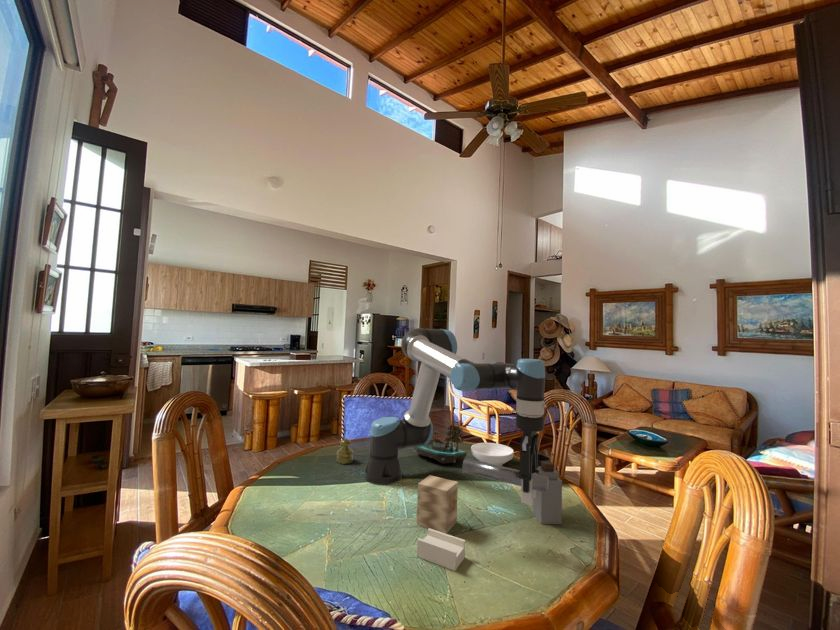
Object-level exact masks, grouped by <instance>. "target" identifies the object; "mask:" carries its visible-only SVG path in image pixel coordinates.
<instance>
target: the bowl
mask: <svg viewBox="0 0 840 630" xmlns="http://www.w3.org/2000/svg"><path fill="white" fill-rule="evenodd" d="M470 452H471V455H472V457H474V458H475V459H477V461H481V462H485V463H489V464H494V465H498V466H503V465H504V464H506V463H508V462H509V461H511V460H512V459H513V458H514V453H515V452H514V448H512V447H510V446H509V445H505V444H501V443H497V442H479V443H478V442H477V443H474V444H473V445H471V446H470Z"/></svg>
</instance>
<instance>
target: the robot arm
mask: <svg viewBox="0 0 840 630" xmlns="http://www.w3.org/2000/svg"><path fill="white" fill-rule="evenodd" d="M401 350H402V353H403V354H404V355H405V356H406V357H407V358H408V359H409V360H412V361H413V362H421V363H420V366H419V371H418V375H417V379H416V382H415V385H414V390H413V394H412V397H411V401H410V405H409V409H408V410H407V411H405V412H404V415H403V417H402V419H399V417H397V416H396V417H395V416H383V417H380V418H377V419H375V420H373V422H371V425H370V430H369V431H370V432H369V434H370V436H369V437H370V439H369V440H370V441H369V457H368V461H367V465H366V466H365V469H364V479H365V481H367V482H369V483H371V484H375V485H390V484H394V483H397V482H400V480H401V479H402V477H403V476H402V473H403V472H402V467H401V464H400V461H399V451H400V450H403V449H404V450H405V449H410V448H415V447H420V446H423V445H426V444H428V443H429V442H430V441H431V442H432V440H433V437H434V435H433V427H434V424H433V422H432V421H431V417H430V411H431V409H432V404H433V401H434V398H435V394H436V390H437V386H438V383H439V379H440V376H441V374H442V375H443V376H445V377H447V378H448V379H450V382H451V385H453V388H454V389H456V390H457V391H463V392H471V391H480V390H481V391H482V390H497V389H508V390H513V391H516V404H515V406H516V407H515V412H516V413H517V414H515V427H516V428H517V429H518V430H521V431H523V433H522V435H521V437H520V442H519V444H518V446H519V470H520V476H518V477H519V478H520V479H522V486H520V487H521V488H520V489H521V491H520V493H521V494H520V495H521V497H520V500H521V501H520V503H522V504H526V505H528V506H529V505H530V506H533V498H536V490H534V489H532V478H531V475H532V473H533V474H534V473H538V474H539V470H536V469H537V468H538V454H539V438H540V435H539V433H538V432H543V431H544V430H545V417H544V415H545V409H546V408H547V407H548V406H547V404H545V385H546V368H545V362H544V361H543V360H541V359H538V358H537V359H535V358H519V359H518V360H517V364H513V363H507V362H504V361H503V362H502V361H493V362H491V363H487V362H486V363H477V362H476V363H475V362H473V361H471V360H468V359H467V358H464V357H463V356H460V355H458V354H457V352H458V341H457V339H456V336H455V334H454V333H453V332H452V331H451V330H449V329H443V328H421V327H418V328H413V329H412V328H411V329H410V330H408V331H407V332H406V333H405V334H404V336H403V337H402V339H401Z"/></svg>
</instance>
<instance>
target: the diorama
mask: <svg viewBox="0 0 840 630" xmlns="http://www.w3.org/2000/svg"><path fill="white" fill-rule="evenodd" d="M459 427H462V425H459V424H458V425H457V426H455V422H452V423H451V424H450V425H449V426H448V427H447V429H448V430H447V431H446V432H445V433H446V436H447V437H445V439H443V438H442V437H440V436H437V435H438V430H436V431H434V428H435V426H433V428H432V430H433V436H434V435H435V437H434V438H433V439H431V441H430V442H429V443H428V444H426V445H423V446H420V447H414V450H415V452H416V453H417V454H419V455H420V456H422V457H425V458H431V459H433V460H435V461H437V462H439V463H441V464H442V465H446V464H447V465H448V464H450V463H451V464H452V463H454V464H455V463H456V461H457V460H462V459H463V460H464V459H465V458H467V451H465V450H464V451H463V450H461V449H459V444H463V443H464V441H465V440H464V439H463V437H464V433H462V431H463V429H462V428H459ZM450 442H451V443H450ZM455 443H456V447H455Z"/></svg>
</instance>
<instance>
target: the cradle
mask: <svg viewBox="0 0 840 630" xmlns="http://www.w3.org/2000/svg"><path fill="white" fill-rule="evenodd" d="M416 543H417V544H416V547H417V548H416V557H417V558H420V559H422V560H426V561H428V562H430V563H433V564H436V565H438V566H440V567H443V568H446V569H448V570H452V571H454V572H456V571H457V569H458V568H459V566H460V565H461V564H462V562H463V561H464V560H465V558H466V540H465V539H464V538H460V537H457V536H453V535H451V534H448V533H447V534H445V533H442V532H439V531H436V530H433V529H430V528H429V529H428V528H427V534H426V536H425V537H424V538H421V537H418V538H417V542H416Z"/></svg>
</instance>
